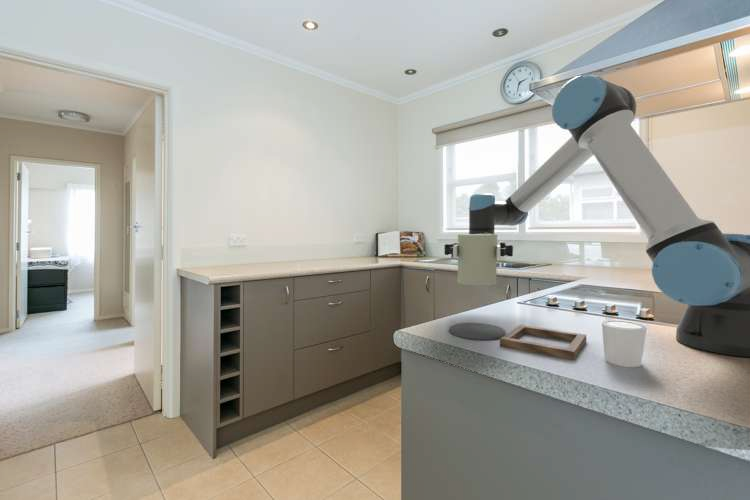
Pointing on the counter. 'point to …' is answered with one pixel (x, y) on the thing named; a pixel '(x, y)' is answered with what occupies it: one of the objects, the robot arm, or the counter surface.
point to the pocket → (568, 353)
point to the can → (477, 259)
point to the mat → (477, 331)
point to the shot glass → (623, 342)
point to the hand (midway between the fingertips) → (476, 252)
